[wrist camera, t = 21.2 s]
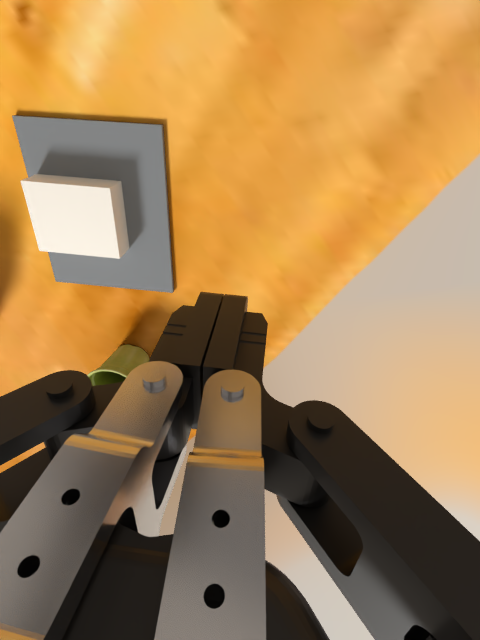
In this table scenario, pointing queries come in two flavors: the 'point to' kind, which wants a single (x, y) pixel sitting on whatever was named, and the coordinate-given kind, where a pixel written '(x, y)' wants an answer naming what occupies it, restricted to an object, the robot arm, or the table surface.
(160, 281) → the slate mat
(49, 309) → the table surface
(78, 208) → the cream block
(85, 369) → the table surface
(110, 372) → the plant pot
